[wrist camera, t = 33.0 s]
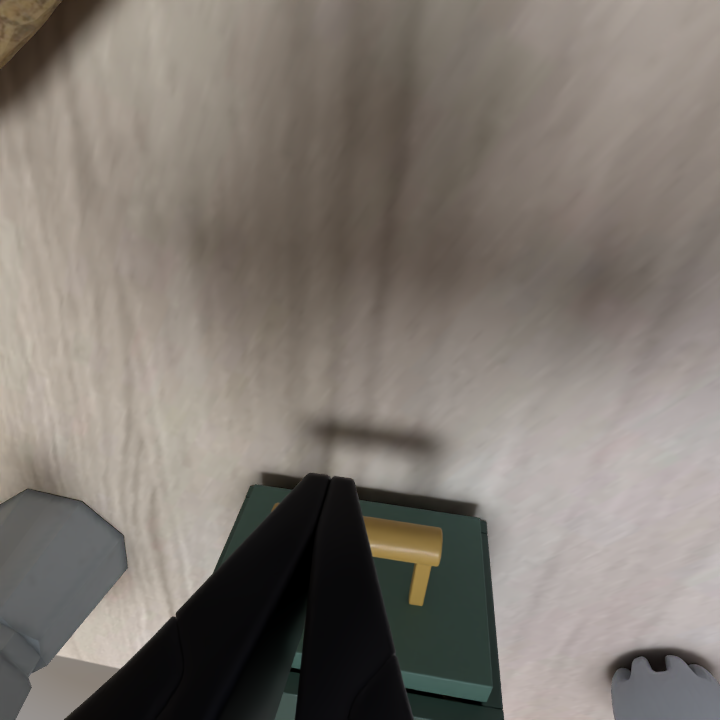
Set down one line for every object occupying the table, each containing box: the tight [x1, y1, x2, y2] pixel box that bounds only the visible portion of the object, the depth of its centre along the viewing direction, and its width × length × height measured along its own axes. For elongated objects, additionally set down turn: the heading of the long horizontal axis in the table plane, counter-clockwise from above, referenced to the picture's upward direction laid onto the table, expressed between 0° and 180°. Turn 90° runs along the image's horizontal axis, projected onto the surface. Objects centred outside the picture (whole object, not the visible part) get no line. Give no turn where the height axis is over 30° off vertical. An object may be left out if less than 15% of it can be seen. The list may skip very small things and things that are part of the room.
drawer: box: [220, 484, 493, 703], centre depth 25 cm, size 18×11×8 cm, turn 176°
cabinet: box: [213, 486, 504, 720], centre depth 27 cm, size 15×13×10 cm
